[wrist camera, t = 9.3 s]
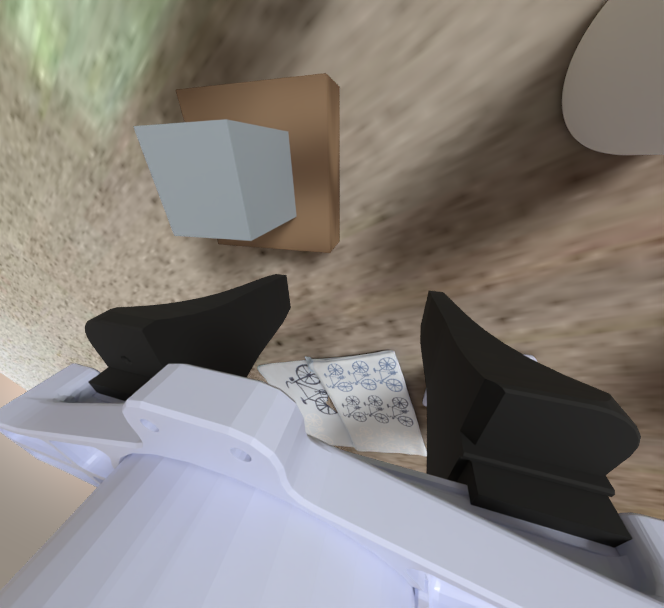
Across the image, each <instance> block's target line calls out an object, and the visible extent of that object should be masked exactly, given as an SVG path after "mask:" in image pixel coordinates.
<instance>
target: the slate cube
mask: <svg viewBox="0 0 664 608" xmlns="http://www.w3.org/2000/svg"><path fill="white" fill-rule="evenodd" d="M133 127H134V130H135V132H136V135H137V138H138V140H139V143H140V146H141V148H142V151H143V154H144V156H145V159H146V162H147V164H148V167H149V170H150V172H151V175H152V177H153V180H154V183H155V185H156V188H157V191H158V193H159V196H160V199H161V201H162V204H163V207H164V209H165V212H166V215H167V217H168V220H169V223H170V225H171V228H172V231H173V233H174V236H188V237H202V238H217V239H232V240H247V241H252V240H254V239H256V238H258V237H259V236H261V235H263V234H265V233H267V232H269V231H271V230H272V229H274V228H276V227H278V226H280V225H282V224H284V223H285V222H287V221H289V220H291V219H293V218H295V217H297V216H296V206H295V195H294V185H293V175H292V165H291V154H290V144H289V134H288V132H287V131H282V130H277V129H272V128H267V127H262V126H257V125H252V124H247V123H242V122H237V121H232V120H227V119H224V120H211V121H198V122H184V123H171V124H158V125H144V126H133Z"/></svg>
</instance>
